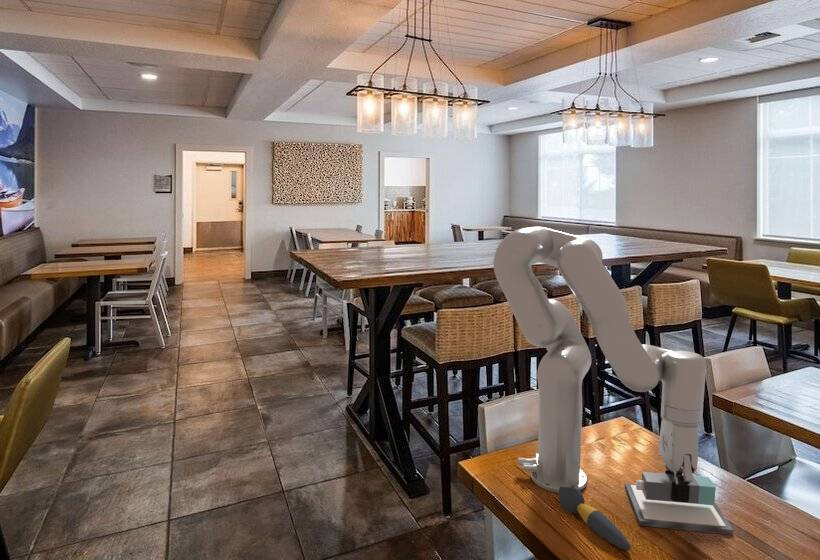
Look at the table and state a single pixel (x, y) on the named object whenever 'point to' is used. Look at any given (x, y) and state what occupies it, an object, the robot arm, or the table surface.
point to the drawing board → (677, 514)
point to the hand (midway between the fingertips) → (676, 493)
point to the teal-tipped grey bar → (661, 488)
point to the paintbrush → (592, 517)
